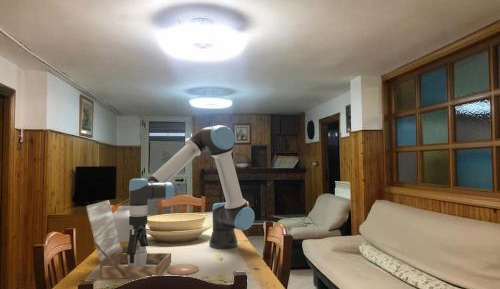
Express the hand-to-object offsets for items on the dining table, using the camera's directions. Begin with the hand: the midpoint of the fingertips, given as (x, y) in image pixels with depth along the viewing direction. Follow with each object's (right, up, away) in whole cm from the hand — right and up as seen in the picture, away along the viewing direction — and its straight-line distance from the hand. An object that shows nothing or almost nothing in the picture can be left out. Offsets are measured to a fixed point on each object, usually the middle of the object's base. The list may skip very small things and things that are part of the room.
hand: (137, 266), depth 159 cm
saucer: (+19, -2, 0) cm, 19 cm away
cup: (0, -2, 0) cm, 2 cm away
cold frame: (-3, -2, -1) cm, 3 cm away
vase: (-13, -3, +23) cm, 26 cm away
